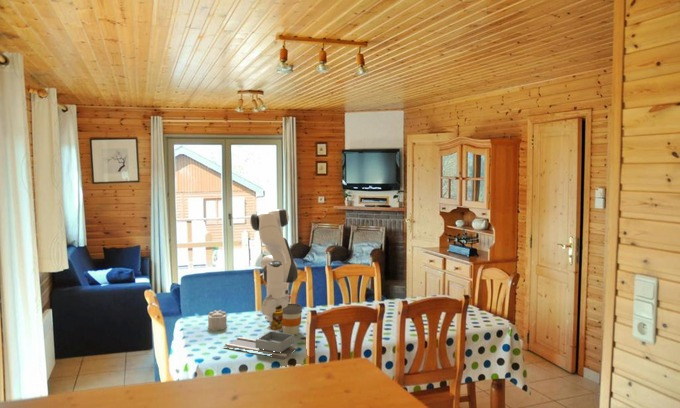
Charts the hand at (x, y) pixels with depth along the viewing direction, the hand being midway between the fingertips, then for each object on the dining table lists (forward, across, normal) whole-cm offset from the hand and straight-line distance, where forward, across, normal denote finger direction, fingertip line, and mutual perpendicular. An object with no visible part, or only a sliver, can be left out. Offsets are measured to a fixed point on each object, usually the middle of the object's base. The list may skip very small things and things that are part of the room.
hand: (275, 319), depth 289 cm
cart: (+15, 0, 0) cm, 15 cm away
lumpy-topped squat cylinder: (+17, +19, +51) cm, 57 cm away
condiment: (+5, 0, 0) cm, 5 cm away
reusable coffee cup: (+17, +29, +8) cm, 35 cm away
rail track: (+17, 0, +9) cm, 19 cm away
